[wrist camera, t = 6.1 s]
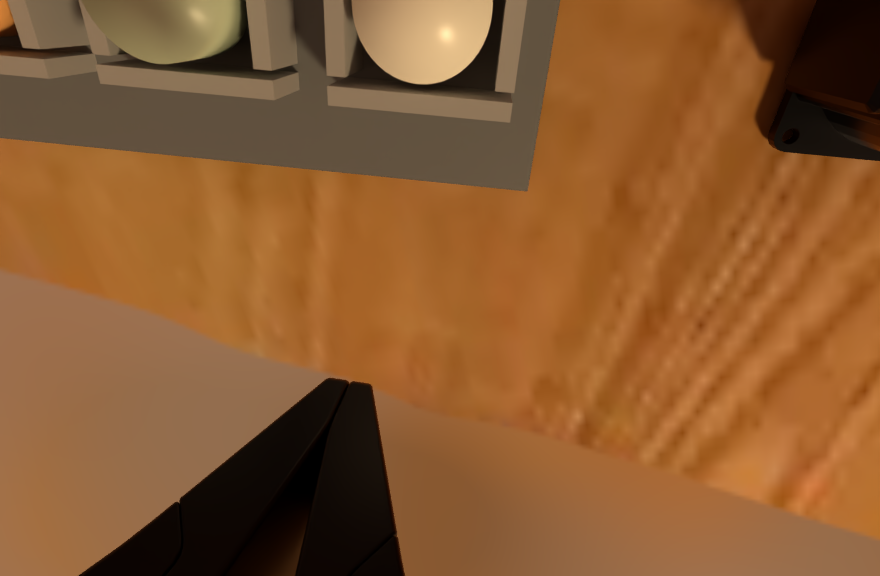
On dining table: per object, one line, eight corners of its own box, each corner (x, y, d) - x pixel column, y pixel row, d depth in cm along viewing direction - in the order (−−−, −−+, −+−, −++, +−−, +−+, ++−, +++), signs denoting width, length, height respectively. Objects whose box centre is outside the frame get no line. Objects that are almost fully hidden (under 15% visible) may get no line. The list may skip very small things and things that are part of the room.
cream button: (500, -63, 12) (501, -75, 11) (484, 80, 14) (483, 90, 12) (369, -73, 13) (349, -87, 11) (369, 69, 14) (352, 78, 13)
